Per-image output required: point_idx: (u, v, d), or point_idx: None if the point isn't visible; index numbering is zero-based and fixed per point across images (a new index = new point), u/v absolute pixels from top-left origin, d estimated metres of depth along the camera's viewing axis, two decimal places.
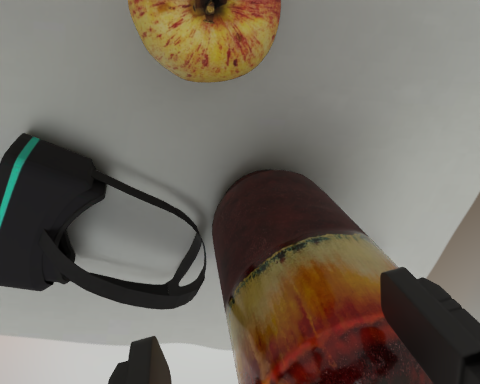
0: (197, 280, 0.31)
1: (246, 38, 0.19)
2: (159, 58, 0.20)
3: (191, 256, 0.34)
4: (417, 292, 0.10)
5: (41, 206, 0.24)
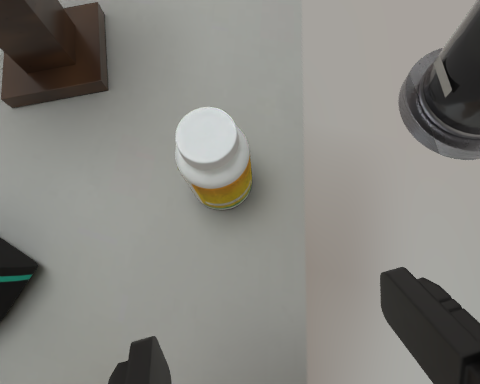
0: None
1: None
2: None
3: None
4: (417, 292, 0.10)
5: None
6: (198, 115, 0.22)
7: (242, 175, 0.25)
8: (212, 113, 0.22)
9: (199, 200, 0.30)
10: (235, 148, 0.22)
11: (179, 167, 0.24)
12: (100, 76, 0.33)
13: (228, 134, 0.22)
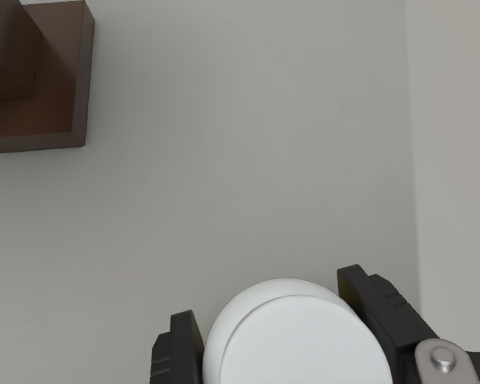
0: None
1: None
2: None
3: None
4: (366, 287, 0.11)
5: None
6: (285, 321, 0.08)
7: None
8: (323, 320, 0.08)
9: None
10: None
11: None
12: (72, 124, 0.19)
13: None
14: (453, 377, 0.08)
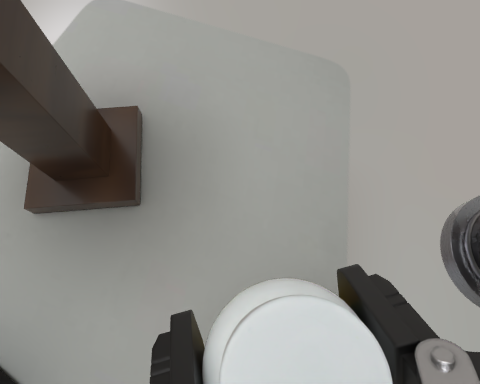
0: None
1: None
2: None
3: None
4: (366, 287, 0.11)
5: None
6: (285, 321, 0.08)
7: None
8: (323, 320, 0.08)
9: None
10: None
11: None
12: (134, 194, 0.31)
13: None
14: (453, 377, 0.08)
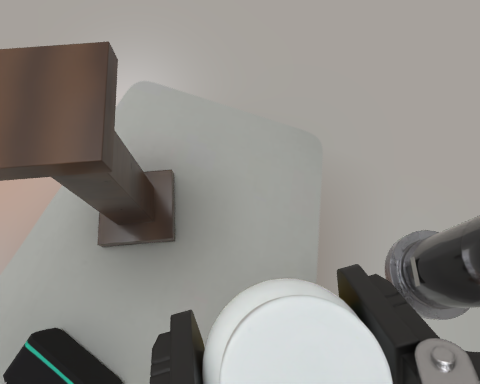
0: None
1: None
2: None
3: None
4: (366, 288, 0.11)
5: None
6: (285, 321, 0.08)
7: None
8: (323, 320, 0.08)
9: None
10: None
11: None
12: (172, 234, 0.46)
13: None
14: (453, 377, 0.08)
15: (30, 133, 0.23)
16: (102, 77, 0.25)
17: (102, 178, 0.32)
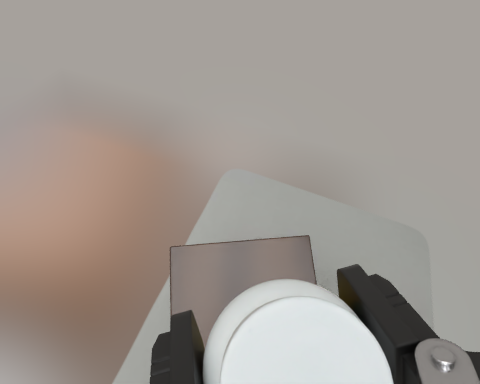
0: None
1: None
2: None
3: None
4: (366, 287, 0.11)
5: None
6: (285, 322, 0.08)
7: None
8: (324, 321, 0.08)
9: None
10: None
11: None
12: None
13: None
14: (453, 377, 0.08)
15: None
16: None
17: None
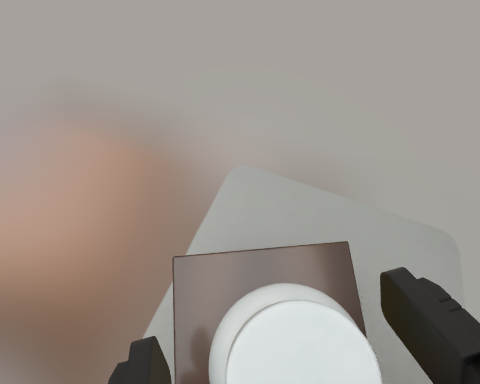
0: None
1: None
2: None
3: None
4: (417, 292, 0.10)
5: None
6: (285, 323, 0.09)
7: None
8: (319, 322, 0.09)
9: None
10: None
11: None
12: None
13: None
14: None
15: None
16: (354, 303, 0.18)
17: None
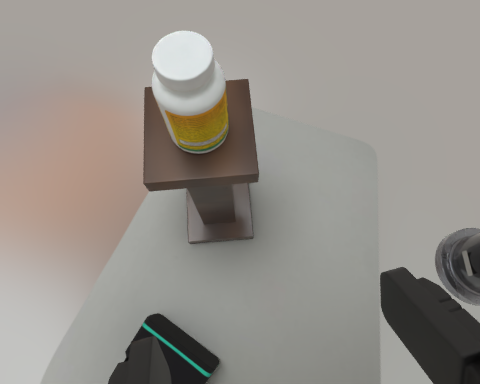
0: None
1: None
2: None
3: None
4: (417, 292, 0.10)
5: (181, 377, 0.43)
6: (177, 37, 0.23)
7: (216, 107, 0.25)
8: (190, 36, 0.23)
9: (174, 141, 0.30)
10: (209, 72, 0.22)
11: (154, 91, 0.24)
12: (252, 232, 0.53)
13: (204, 56, 0.22)
14: None
15: (199, 153, 0.30)
16: (248, 108, 0.32)
17: (223, 185, 0.39)
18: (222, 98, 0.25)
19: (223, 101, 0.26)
